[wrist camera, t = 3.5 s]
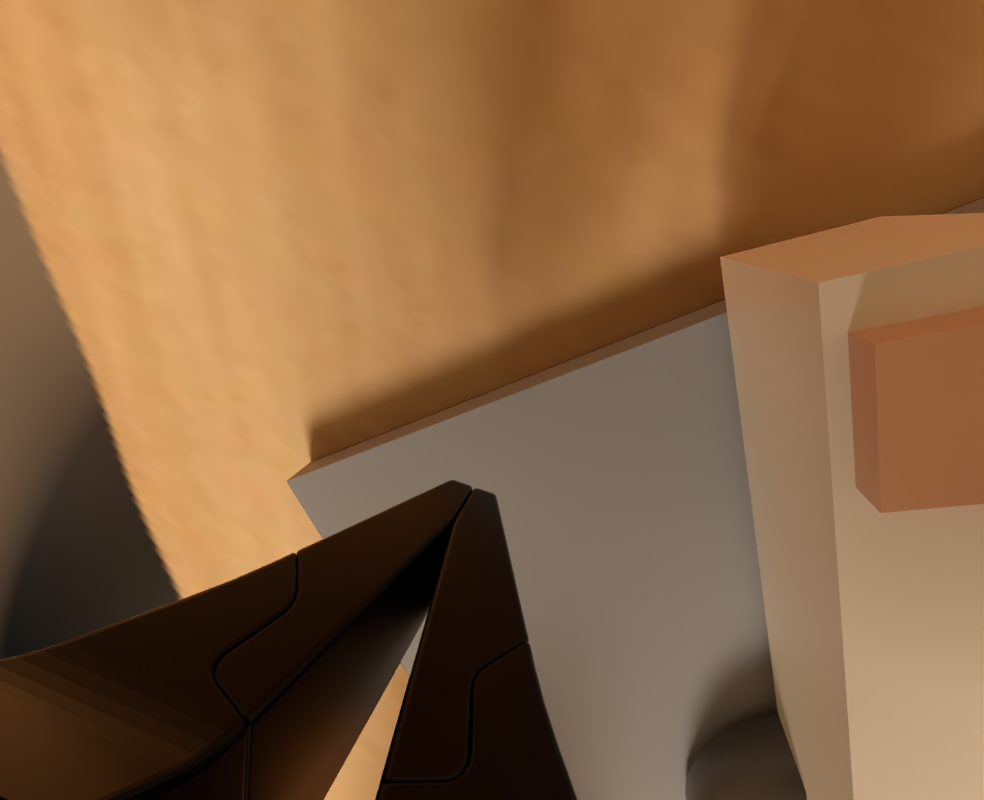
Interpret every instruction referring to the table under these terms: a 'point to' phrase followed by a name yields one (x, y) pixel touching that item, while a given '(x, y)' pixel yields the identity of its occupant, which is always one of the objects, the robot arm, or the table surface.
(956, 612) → the beige bar with disc
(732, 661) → the grey mat
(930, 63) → the table surface
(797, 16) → the table surface
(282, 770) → the robot arm
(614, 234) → the table surface
